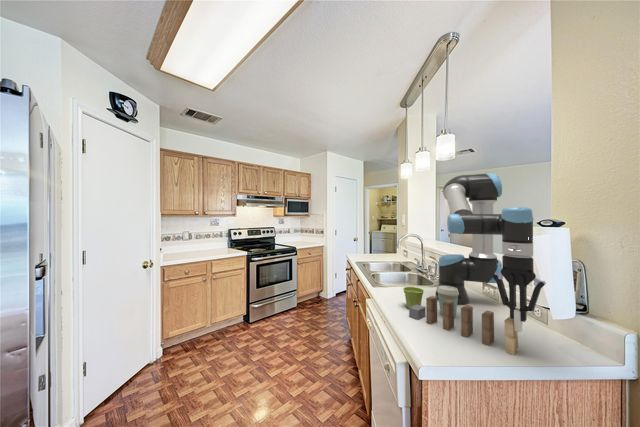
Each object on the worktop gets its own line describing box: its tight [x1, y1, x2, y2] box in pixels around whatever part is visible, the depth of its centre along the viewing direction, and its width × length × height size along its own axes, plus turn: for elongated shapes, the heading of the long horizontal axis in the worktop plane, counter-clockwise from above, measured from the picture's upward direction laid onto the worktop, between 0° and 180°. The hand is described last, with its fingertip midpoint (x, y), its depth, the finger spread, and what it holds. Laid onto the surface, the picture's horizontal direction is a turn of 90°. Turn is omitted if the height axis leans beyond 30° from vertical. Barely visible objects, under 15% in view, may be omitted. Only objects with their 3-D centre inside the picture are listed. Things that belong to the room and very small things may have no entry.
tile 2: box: [481, 310, 495, 347], centre depth 79 cm, size 5×2×10 cm, turn 127°
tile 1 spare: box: [504, 316, 519, 356], centre depth 74 cm, size 5×2×10 cm, turn 127°
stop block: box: [408, 305, 426, 321], centre depth 100 cm, size 6×4×4 cm, turn 127°
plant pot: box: [402, 286, 425, 309], centre depth 110 cm, size 9×9×9 cm
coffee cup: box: [436, 286, 459, 319], centre depth 101 cm, size 8×8×12 cm
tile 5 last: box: [425, 295, 438, 325], centre depth 95 cm, size 5×2×10 cm, turn 127°
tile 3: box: [460, 304, 474, 339], centre depth 84 cm, size 5×2×10 cm, turn 127°
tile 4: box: [442, 300, 455, 332], centre depth 90 cm, size 5×2×10 cm, turn 127°
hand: (518, 330), depth 73 cm, fingers closed
